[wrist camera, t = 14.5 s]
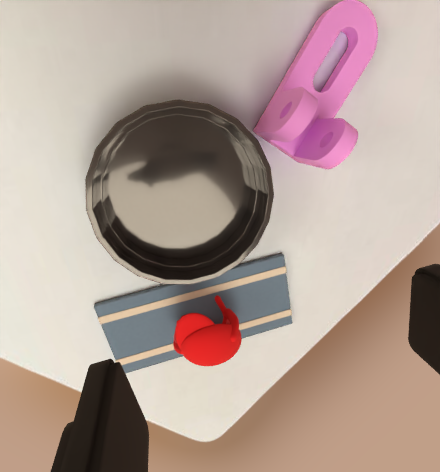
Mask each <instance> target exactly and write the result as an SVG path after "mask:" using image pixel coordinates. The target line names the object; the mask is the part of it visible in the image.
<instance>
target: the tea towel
mask: <svg viewBox="0 0 440 472" xmlns="http://www.w3.org/2000/svg"><path fill="white" fill-rule="evenodd" d="M286 273H287V272H286V266H285V260H284V255H283V254H282V253H281V254H278V255H274V256H270V257H266V258H263V259H259V260H255V261H252V262H248V263H244V264H240V265H237V266H235V267H234V268H232V269H230V270H229V271H227V272H225V273H224V274H222V275H220V276H219V277H217V278H213V279H210V280H206V281H202V282H199V283H195V284H166V285H162V286H158V287H155V288H151V289H147V290H144V291H140V292H136V293H132V294H129V295H125V296H121V297H118V298H114V299H110V300H106V301H103V302H99V303H95V305H94V308H95V311H96V313H97V316H98V320H99V322H100V324H101V325H102V328H103V330H104V333H105V335H106V337H107V340H108V342H109V345H110V347H111V350H112V352H113V355H114V357H115V359H116V360H115V361H116V362H120V363H121V365H122V368H123V370H124V372H125V373H128V372H131V371H135V370H138V369H141V368H145V367H148V366H151V365H155V364H158V363H161V362H165V361H168V360H171V359H175V358H178V357H182V356H184V355H182V354H179V353H177V352H176V351H175V349H174V346H173V341H174V333H175V328H176V325H177V324H176V322H177V321H178V320H180V319H181V317H182V316H183V315H186V314H189V313H199V314H202V315H205V316H206V317H208V318H209V319H211V320H212V321H213V322H214V324H222V322H223V314H222V312H221V310H220V308H219V306H218V305H217V303H216V301H215V296H216V295H218V296H220V298H221V300H222V301H223V303H224V305H225V307H226V308H229V309H231V310H232V311H233V312H234V313H235V314H236V316H237V317H238V320H239V330H240V332H241V339H242V338H245V337H248V336H252V335H255V334H258V333H262V332H265V331H268V330H272V329H275V328H278V327H282V326H285V325H288V324H292V317H291V315H292V313H291V309H290V300H289V292H288V284H287V276H286Z"/></svg>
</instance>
